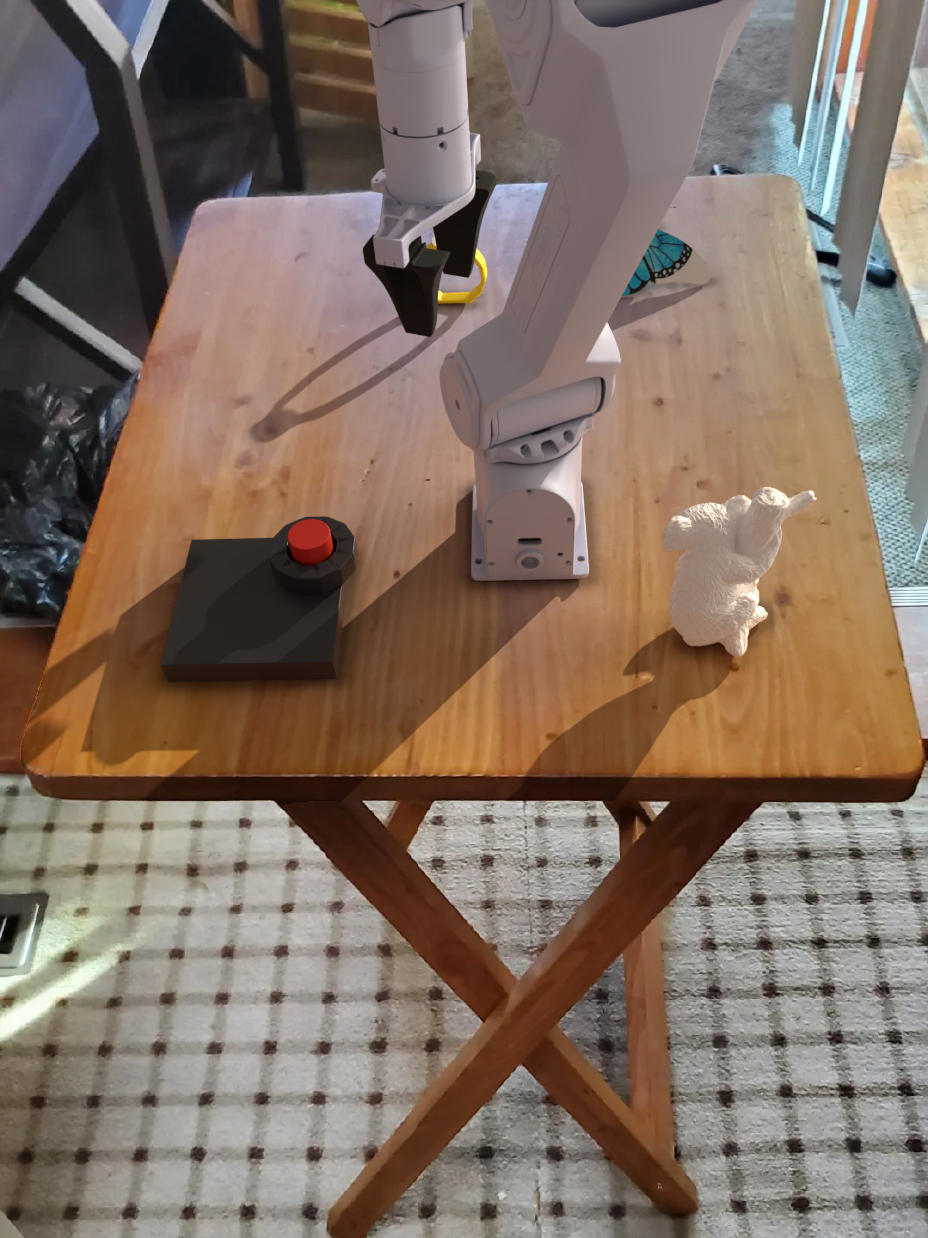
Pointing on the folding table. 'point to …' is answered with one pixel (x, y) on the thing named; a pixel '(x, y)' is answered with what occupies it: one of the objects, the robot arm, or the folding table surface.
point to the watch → (464, 296)
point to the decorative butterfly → (668, 264)
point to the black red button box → (259, 610)
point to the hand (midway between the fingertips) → (439, 302)
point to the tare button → (310, 542)
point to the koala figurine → (726, 564)
